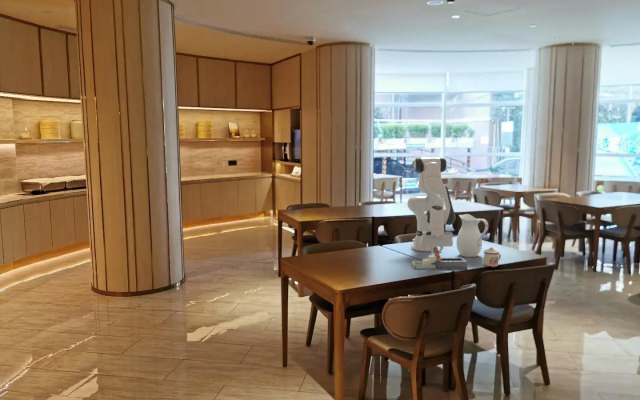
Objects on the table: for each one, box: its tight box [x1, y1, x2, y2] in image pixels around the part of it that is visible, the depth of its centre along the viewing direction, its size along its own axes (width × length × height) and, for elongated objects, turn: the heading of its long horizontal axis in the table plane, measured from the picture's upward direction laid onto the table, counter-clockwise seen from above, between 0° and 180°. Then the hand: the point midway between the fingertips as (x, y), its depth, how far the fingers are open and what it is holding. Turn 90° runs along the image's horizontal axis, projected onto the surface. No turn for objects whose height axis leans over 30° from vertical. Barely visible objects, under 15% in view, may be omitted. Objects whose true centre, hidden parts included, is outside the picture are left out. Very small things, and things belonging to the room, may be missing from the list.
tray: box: [411, 260, 436, 270], centre depth 320 cm, size 10×13×2 cm
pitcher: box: [456, 213, 489, 258], centre depth 344 cm, size 24×17×28 cm
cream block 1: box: [421, 258, 430, 265], centre depth 319 cm, size 4×4×4 cm
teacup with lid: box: [483, 246, 501, 268], centre depth 323 cm, size 12×9×12 cm
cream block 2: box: [428, 254, 437, 263], centre depth 319 cm, size 4×4×4 cm
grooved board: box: [432, 256, 468, 270], centre depth 320 cm, size 10×20×4 cm, turn 91°
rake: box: [433, 247, 442, 261], centre depth 319 cm, size 5×3×10 cm, turn 2°
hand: (436, 253), depth 319 cm, fingers closed on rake, 3 cm apart
